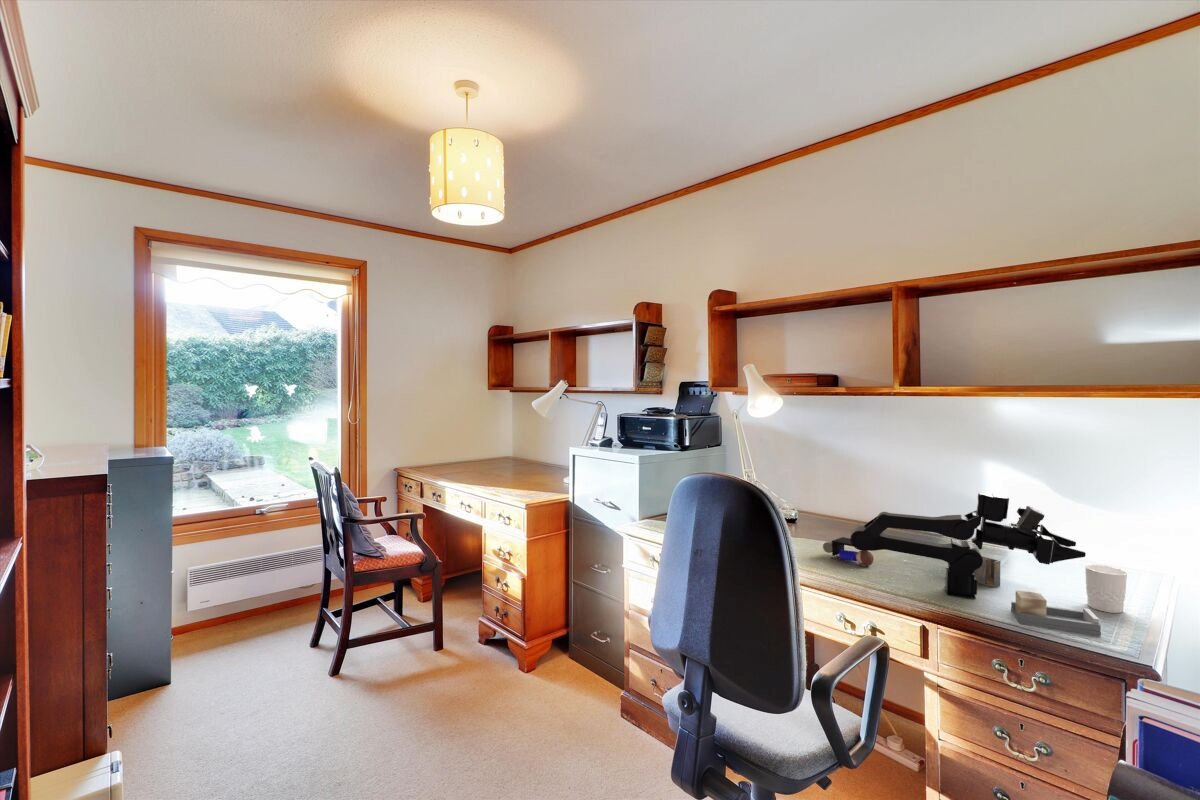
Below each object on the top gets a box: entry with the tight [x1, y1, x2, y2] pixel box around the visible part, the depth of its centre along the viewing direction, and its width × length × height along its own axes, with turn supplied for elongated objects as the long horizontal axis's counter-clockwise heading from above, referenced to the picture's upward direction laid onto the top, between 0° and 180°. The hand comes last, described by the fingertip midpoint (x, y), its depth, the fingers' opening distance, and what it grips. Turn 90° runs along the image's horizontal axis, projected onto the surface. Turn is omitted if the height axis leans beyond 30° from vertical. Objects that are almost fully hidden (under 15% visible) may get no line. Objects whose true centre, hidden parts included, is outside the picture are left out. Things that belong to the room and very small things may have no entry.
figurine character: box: [822, 536, 874, 567], centre depth 180 cm, size 7×8×15 cm
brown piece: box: [974, 555, 1001, 589], centre depth 162 cm, size 11×3×10 cm, turn 26°
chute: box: [1010, 600, 1102, 637], centre depth 134 cm, size 15×9×3 cm, turn 65°
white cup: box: [1084, 563, 1128, 614], centre depth 142 cm, size 8×8×10 cm
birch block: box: [1014, 590, 1048, 616], centre depth 135 cm, size 5×5×5 cm
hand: (1080, 549), depth 139 cm, fingers open, 9 cm apart
